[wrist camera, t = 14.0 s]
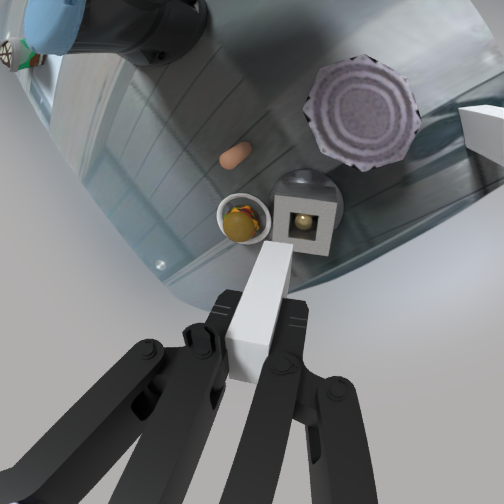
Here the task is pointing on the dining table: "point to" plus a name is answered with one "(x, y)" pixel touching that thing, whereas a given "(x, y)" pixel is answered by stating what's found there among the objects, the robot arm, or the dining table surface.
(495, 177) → the dining table surface
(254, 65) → the dining table surface
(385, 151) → the can
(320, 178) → the hub
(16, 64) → the food container
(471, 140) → the milk
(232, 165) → the sausage
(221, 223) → the hamburger
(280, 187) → the collar
